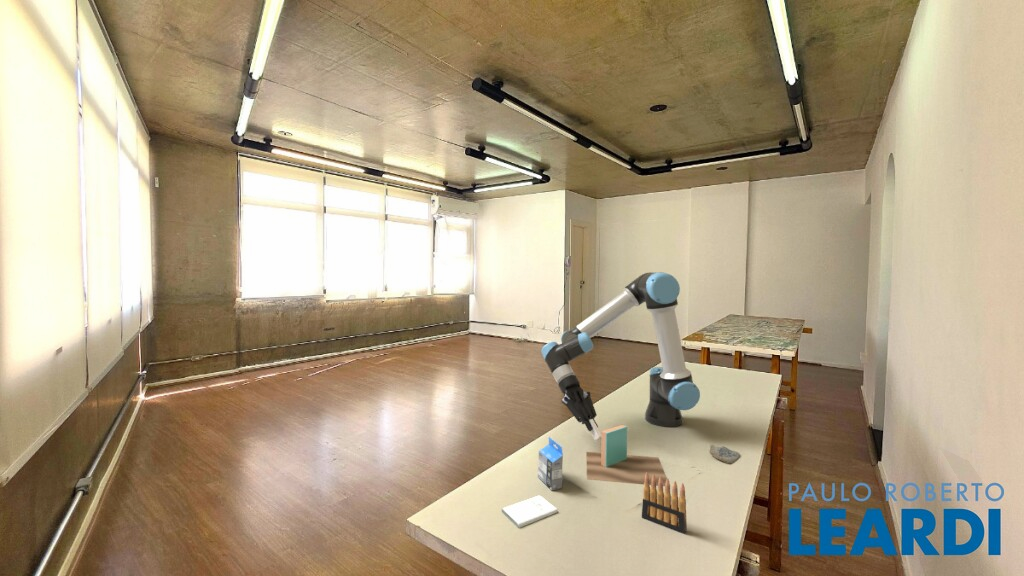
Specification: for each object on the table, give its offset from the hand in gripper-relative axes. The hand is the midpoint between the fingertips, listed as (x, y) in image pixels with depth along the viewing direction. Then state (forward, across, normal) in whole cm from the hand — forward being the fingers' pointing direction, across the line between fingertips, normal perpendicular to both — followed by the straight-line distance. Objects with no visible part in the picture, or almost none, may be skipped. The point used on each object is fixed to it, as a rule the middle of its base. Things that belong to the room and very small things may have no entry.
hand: (598, 438), depth 138 cm
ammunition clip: (+30, +14, +20) cm, 38 cm away
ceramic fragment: (+21, -37, +11) cm, 44 cm away
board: (+13, 0, +3) cm, 13 cm away
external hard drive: (+14, +38, +3) cm, 41 cm away
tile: (+9, 0, +1) cm, 9 cm away
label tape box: (+7, +24, -3) cm, 26 cm away
